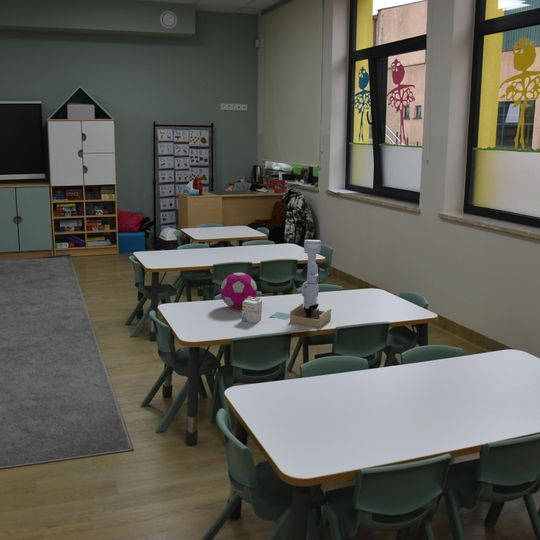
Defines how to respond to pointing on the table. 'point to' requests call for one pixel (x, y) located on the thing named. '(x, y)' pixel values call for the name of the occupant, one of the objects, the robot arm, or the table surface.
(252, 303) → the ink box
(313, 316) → the walnut block
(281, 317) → the teal mat
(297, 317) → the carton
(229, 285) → the soccer ball
